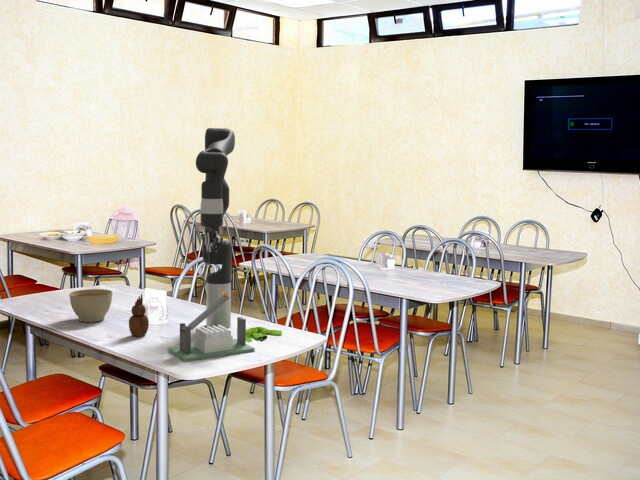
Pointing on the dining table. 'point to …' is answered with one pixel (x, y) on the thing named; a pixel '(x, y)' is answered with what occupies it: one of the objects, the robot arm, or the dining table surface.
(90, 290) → the planter bowl
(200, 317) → the wood-capped grey post
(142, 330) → the wooden figurine
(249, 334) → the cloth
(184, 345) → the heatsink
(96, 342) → the dining table surface
